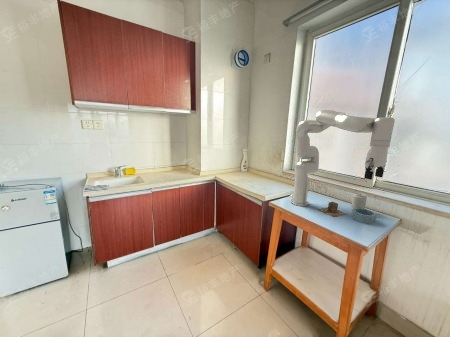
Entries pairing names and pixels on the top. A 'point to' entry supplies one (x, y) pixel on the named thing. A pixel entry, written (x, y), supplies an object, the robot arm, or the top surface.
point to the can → (359, 201)
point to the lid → (332, 210)
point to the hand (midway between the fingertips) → (373, 177)
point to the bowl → (364, 215)
